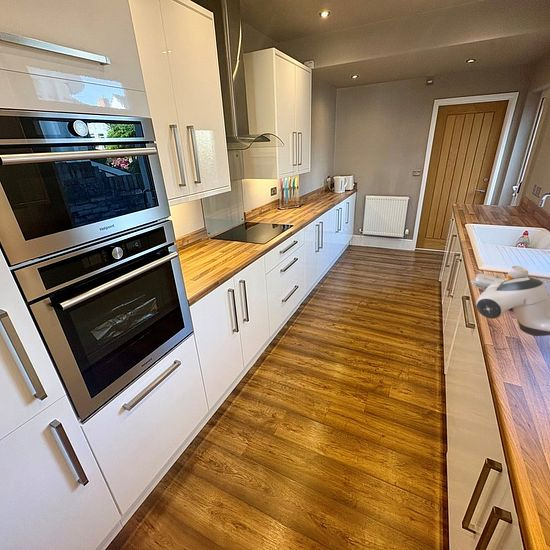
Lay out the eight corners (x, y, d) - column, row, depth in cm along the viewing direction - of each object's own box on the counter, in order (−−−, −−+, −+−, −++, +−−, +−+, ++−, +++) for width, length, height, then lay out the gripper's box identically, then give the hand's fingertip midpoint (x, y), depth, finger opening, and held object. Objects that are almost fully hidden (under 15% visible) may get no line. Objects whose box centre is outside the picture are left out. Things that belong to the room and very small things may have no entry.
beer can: (515, 305, 120) (528, 273, 114) (497, 300, 124) (509, 268, 117) (516, 300, 124) (530, 268, 118) (499, 295, 128) (511, 264, 121)
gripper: (466, 290, 111) (478, 279, 119) (534, 312, 97) (541, 298, 106) (471, 275, 108) (482, 265, 117) (541, 295, 95) (548, 282, 103)
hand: (511, 281), depth 111 cm, fingers open, 8 cm apart
